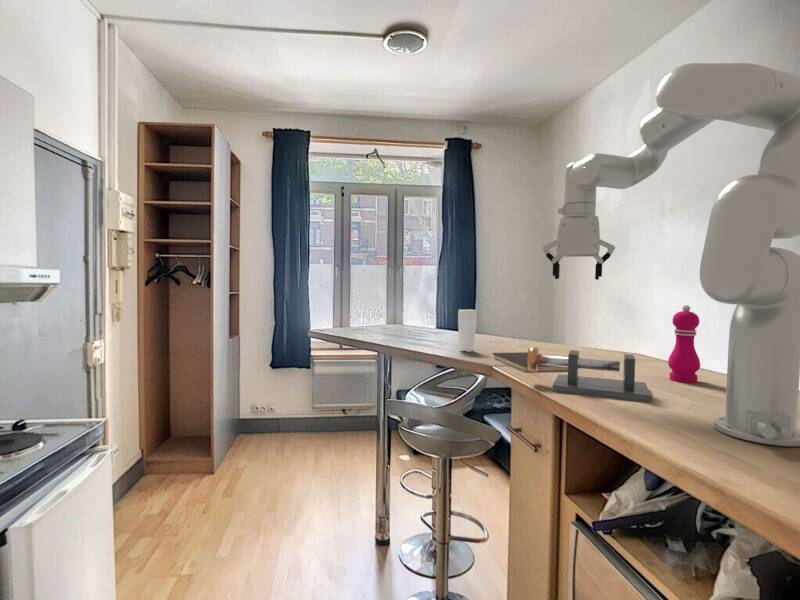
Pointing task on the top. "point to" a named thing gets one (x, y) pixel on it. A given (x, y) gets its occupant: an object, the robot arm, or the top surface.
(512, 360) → the hardcover book
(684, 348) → the pepper mill
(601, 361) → the shaft
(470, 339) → the drinking glass
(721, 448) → the top surface
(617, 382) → the stand
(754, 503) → the top surface
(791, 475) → the top surface
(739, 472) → the top surface
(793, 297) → the robot arm
